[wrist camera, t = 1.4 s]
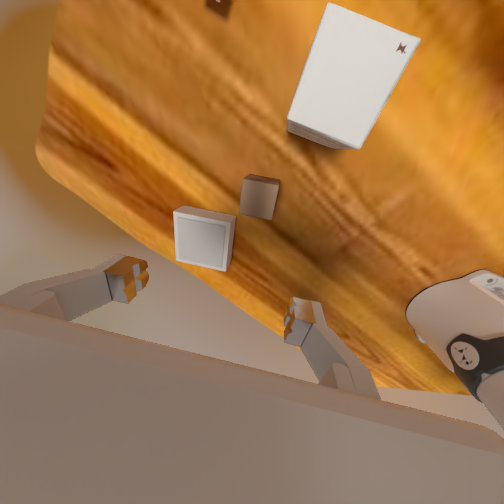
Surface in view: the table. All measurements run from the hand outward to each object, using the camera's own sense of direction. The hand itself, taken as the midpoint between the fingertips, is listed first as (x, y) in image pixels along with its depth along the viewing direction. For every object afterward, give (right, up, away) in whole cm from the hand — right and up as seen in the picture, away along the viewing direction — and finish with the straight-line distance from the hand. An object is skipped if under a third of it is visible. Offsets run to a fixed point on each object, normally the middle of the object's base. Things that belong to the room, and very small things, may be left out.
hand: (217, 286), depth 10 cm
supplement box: (+11, +21, +15) cm, 29 cm away
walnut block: (+4, +12, +22) cm, 25 cm away
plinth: (-7, +5, +27) cm, 28 cm away
